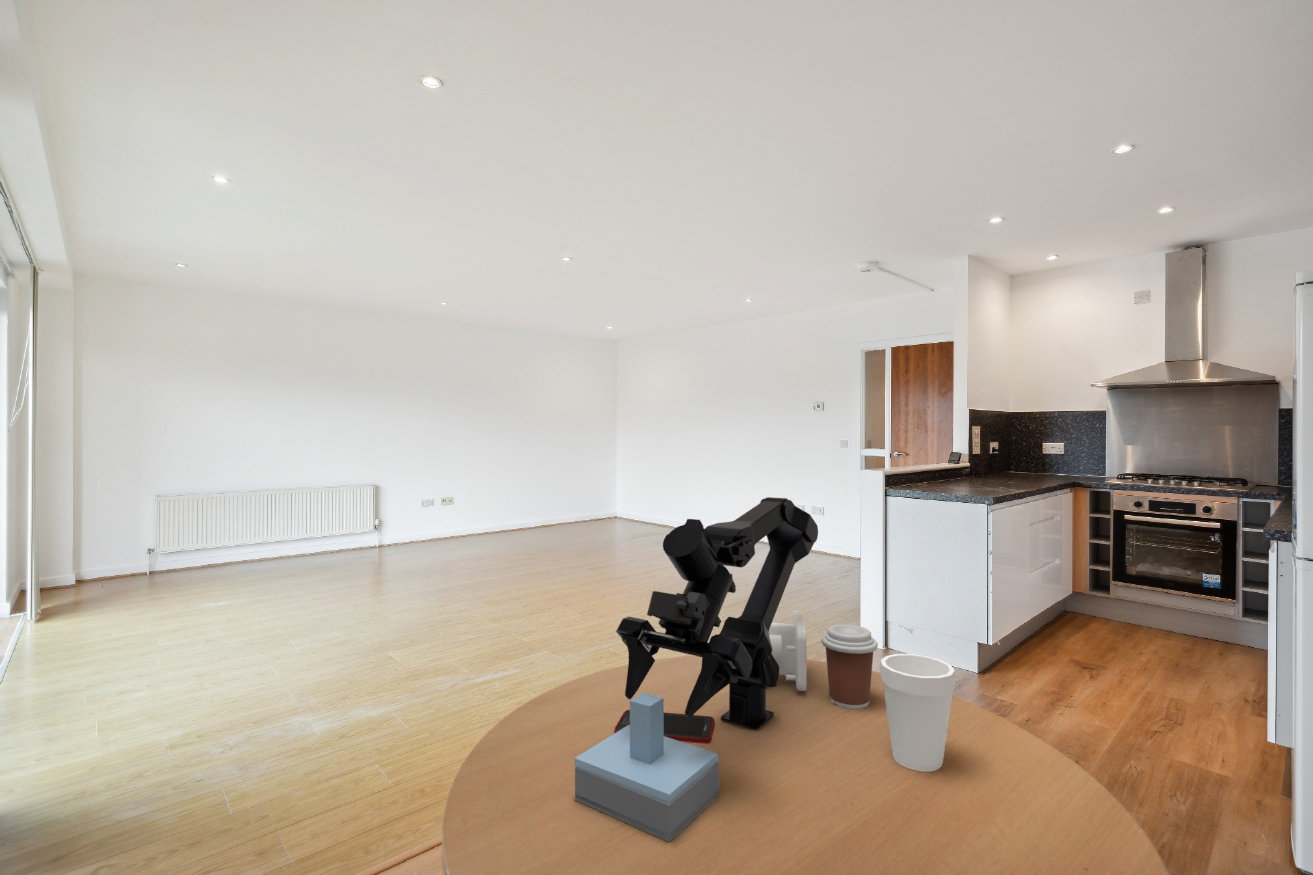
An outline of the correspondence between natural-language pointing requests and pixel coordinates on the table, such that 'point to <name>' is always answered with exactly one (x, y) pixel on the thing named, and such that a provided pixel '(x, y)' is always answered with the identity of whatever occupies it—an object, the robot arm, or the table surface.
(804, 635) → the cable organizer
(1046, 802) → the table surface
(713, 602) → the robot arm
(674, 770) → the tub lid
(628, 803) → the parts tub
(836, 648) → the coffee cup
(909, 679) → the foam cup
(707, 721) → the cell phone
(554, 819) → the table surface
